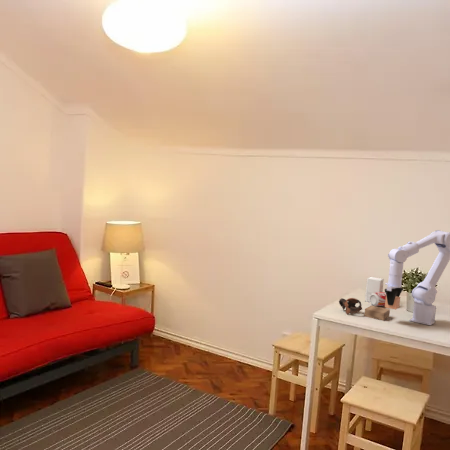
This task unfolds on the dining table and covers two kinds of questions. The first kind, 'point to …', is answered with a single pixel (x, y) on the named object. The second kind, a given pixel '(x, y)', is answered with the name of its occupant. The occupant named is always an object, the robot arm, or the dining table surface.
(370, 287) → the supplement box
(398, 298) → the terracotta block
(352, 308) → the pottery mug
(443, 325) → the dining table surface
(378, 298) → the soda can
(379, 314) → the light tan wooden block
